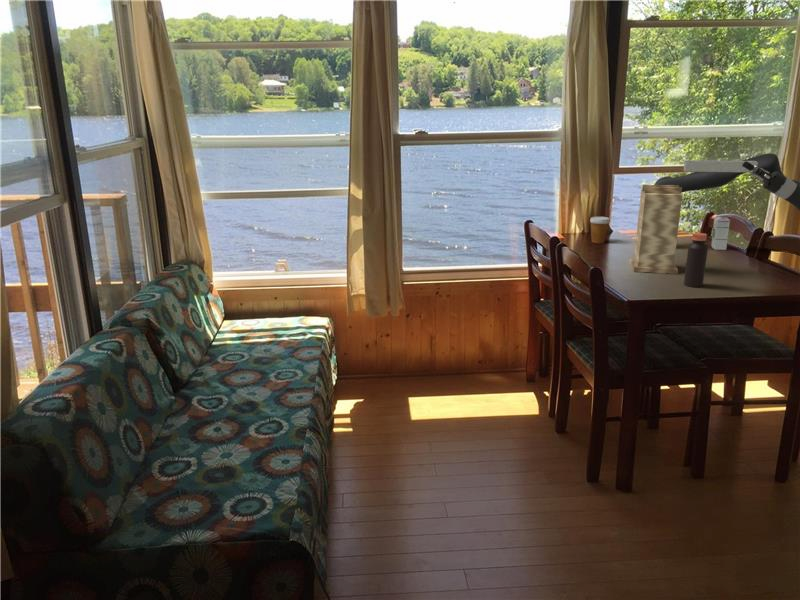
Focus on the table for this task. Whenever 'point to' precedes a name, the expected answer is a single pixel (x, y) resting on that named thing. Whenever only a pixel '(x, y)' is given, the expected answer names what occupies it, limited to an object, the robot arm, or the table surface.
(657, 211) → the post
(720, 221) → the syrup box
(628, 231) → the table surface
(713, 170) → the rail
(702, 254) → the bottle
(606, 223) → the disposable coffee cup
